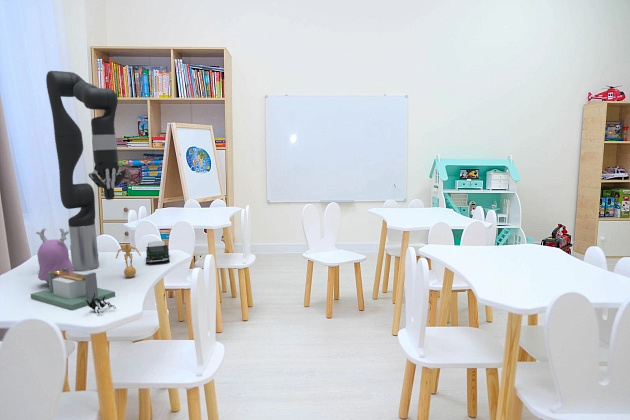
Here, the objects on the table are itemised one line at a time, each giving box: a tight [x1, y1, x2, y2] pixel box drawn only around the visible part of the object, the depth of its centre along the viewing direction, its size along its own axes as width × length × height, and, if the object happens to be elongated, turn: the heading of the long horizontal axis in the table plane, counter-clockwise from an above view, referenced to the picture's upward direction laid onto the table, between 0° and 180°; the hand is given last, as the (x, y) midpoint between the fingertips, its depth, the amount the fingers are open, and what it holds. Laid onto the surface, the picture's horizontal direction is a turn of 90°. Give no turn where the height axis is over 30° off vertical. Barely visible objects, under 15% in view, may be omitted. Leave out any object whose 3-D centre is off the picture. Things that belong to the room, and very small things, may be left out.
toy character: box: [35, 227, 75, 285], centre depth 162 cm, size 12×10×20 cm
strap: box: [53, 269, 85, 281], centre depth 147 cm, size 17×3×2 cm, turn 58°
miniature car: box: [145, 240, 170, 265], centre depth 194 cm, size 9×18×8 cm, turn 18°
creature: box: [86, 293, 117, 316], centre depth 134 cm, size 8×5×8 cm
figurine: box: [115, 243, 141, 278], centre depth 170 cm, size 8×6×12 cm
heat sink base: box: [30, 268, 116, 311], centre depth 148 cm, size 23×14×9 cm, turn 58°
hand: (109, 199), depth 161 cm, fingers closed
